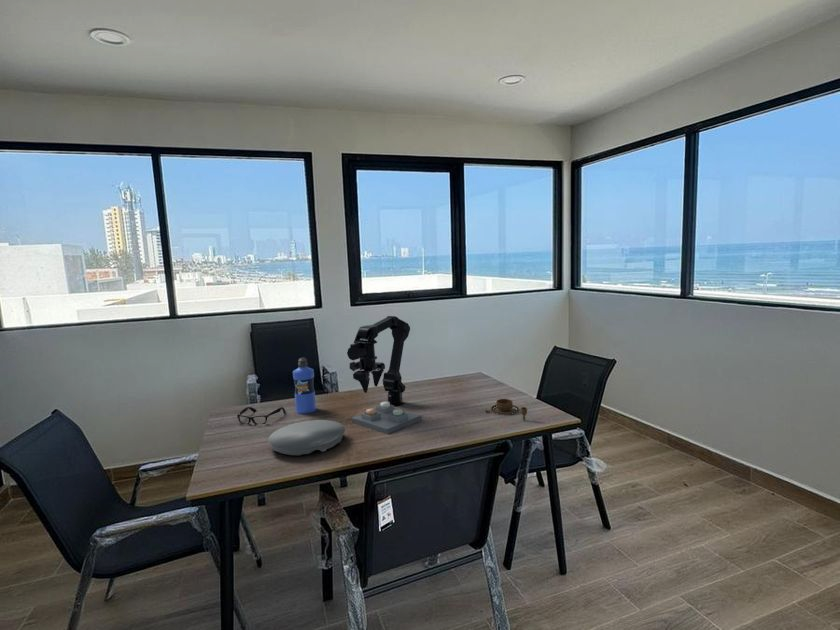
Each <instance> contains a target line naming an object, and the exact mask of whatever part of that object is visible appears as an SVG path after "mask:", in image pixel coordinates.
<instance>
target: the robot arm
mask: <svg viewBox="0 0 840 630" xmlns="http://www.w3.org/2000/svg"><path fill="white" fill-rule="evenodd" d="M388 329H390V330H391V336H392V338H393V343H392V350H391V356H390V362H389V368H388V370H387V372H384V371H385V369H386V364H385V363H384V362H379V361H378V362H376V360H377V359H378V356H376V351H375V344H377V343H378V341H377V340H376V338H377V337H378V336H379V334H380V333H382V332H383V331H385V330H388ZM410 332H411V326H410V324H409V323H408V322H406V321H404V320H402V319H400V318H399V317H397V316H395V315H388V316H386V317H385V318H383V319H381V320H379V321H377V322H375V323H373V324H369V325H368V324H366V325H363V326H360V327H359V328H358V331H357V332H356V335H355V338H354V341H353V343H350V346H349V348H348V349H347V352H346V354H347V357H348V358H349V360H351V362H349V369H350V370H351V371H352V372H353V373H352V378H353V380H355V381H357V382H359V383H360V385H361V388H362V391H363V392H364V394H365V393H366V394H367V393H368V391H369V386H370V385H369V384H370V380H371V378H370V374H372V379H373V384H374V387H378V385H379V382H380V380H381V377H382V376H383V378H382V381H381V382H382V386H383V388H384V391H385V392H387V402H390V405H393V406H395V407H397V406H401V405H403V404H405V401H403V393H404V392H405V390H406V385H405V384H404V382H402V374H401V372H400V368H401V362H402V356H403V351H404V345H405V341H406V340H407V339H408V338H409V334H410ZM356 360H359V361H356ZM355 361H356V362H355Z"/></svg>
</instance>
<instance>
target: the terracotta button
mask: <svg viewBox="0 0 840 630" xmlns="http://www.w3.org/2000/svg"><path fill="white" fill-rule="evenodd" d="M365 412H366V415H369V416H372V415H375V414H376V408H374V407H371V408H367V409H366V410H365Z"/></svg>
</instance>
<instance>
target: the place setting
mask: <svg viewBox="0 0 840 630" xmlns="http://www.w3.org/2000/svg"><path fill="white" fill-rule="evenodd" d="M496 406H497V408H496V409H498V410H499V411H497V410H495V409H494V410H493V408H494V407H496ZM512 407H515V408H517V410H513V411H511V410H512V409H513V408H512ZM490 410H491V412H494V413H493V414H496V413H498V414H497V415H500V414H511V415H513V414H512V413H515V414H517V413H518V412H517V411H519V407H518V406H517V405H515V404H513V400H512V399H508V398H500V399H497V400H496V404H494V405H492V406H491V407H490ZM490 410H488V411H489V412H486V411H487V410H485V411H484V412H485V413H486V414H489V413H490ZM500 410H501V411H500ZM502 411H508V412H502ZM516 412H517V413H516ZM520 413H521V415H522V421H523V420H525V421H526V414H528V408H527V407H525V406H522V407H520Z"/></svg>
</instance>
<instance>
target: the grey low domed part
mask: <svg viewBox="0 0 840 630" xmlns="http://www.w3.org/2000/svg"><path fill="white" fill-rule="evenodd" d="M345 432H346V428H345V425H343V424H342V423H340V422H337V421H334V420H327V419H323V420H322V419H316V420H315V419H313V420H305V421H301V422H296V423H291V424H288V425H285V426H283V427H281V428H278V429H277V430H275V431H273V432H272V433H271V434H270V435H269V437H268V443H269V444H270V445H271V447H272V450H273V451H275V452H278V453H280V454H283V455H288V456H302V455H309V454H311V453H312V452H315V451H317V450H318V451H320V452H322V453H323V452H326V451H327V449H328V450H329V449H331V448H333V447H334V446H336V445H337V444H339V443H341V441H342V439H343V437H344V436H343V435H344V433H345Z"/></svg>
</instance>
